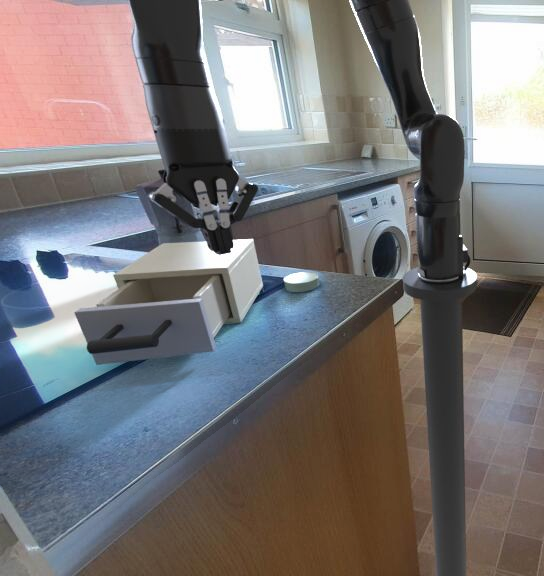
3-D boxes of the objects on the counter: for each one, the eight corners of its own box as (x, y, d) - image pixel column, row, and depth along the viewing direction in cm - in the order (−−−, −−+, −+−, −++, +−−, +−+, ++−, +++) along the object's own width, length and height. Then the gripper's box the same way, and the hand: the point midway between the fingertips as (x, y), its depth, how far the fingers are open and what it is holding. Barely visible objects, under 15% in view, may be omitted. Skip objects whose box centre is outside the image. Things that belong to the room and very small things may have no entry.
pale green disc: (321, 279, 82) (319, 271, 82) (318, 290, 77) (316, 281, 76) (288, 281, 81) (286, 273, 80) (282, 293, 75) (280, 284, 75)
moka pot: (210, 255, 93) (186, 165, 86) (227, 274, 83) (201, 173, 75) (157, 264, 87) (126, 167, 79) (167, 285, 77) (133, 176, 69)
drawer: (197, 375, 50) (181, 321, 47) (66, 392, 46) (39, 335, 43) (242, 306, 68) (232, 264, 65) (150, 315, 64) (135, 270, 61)
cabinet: (241, 322, 65) (227, 267, 61) (134, 333, 60) (112, 274, 57) (263, 285, 78) (253, 239, 75) (177, 292, 74) (162, 243, 71)
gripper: (232, 124, 60) (257, 238, 66) (113, 124, 50) (157, 259, 56) (257, 126, 56) (281, 247, 62) (133, 126, 46) (178, 271, 52)
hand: (222, 253), depth 59 cm, fingers closed
